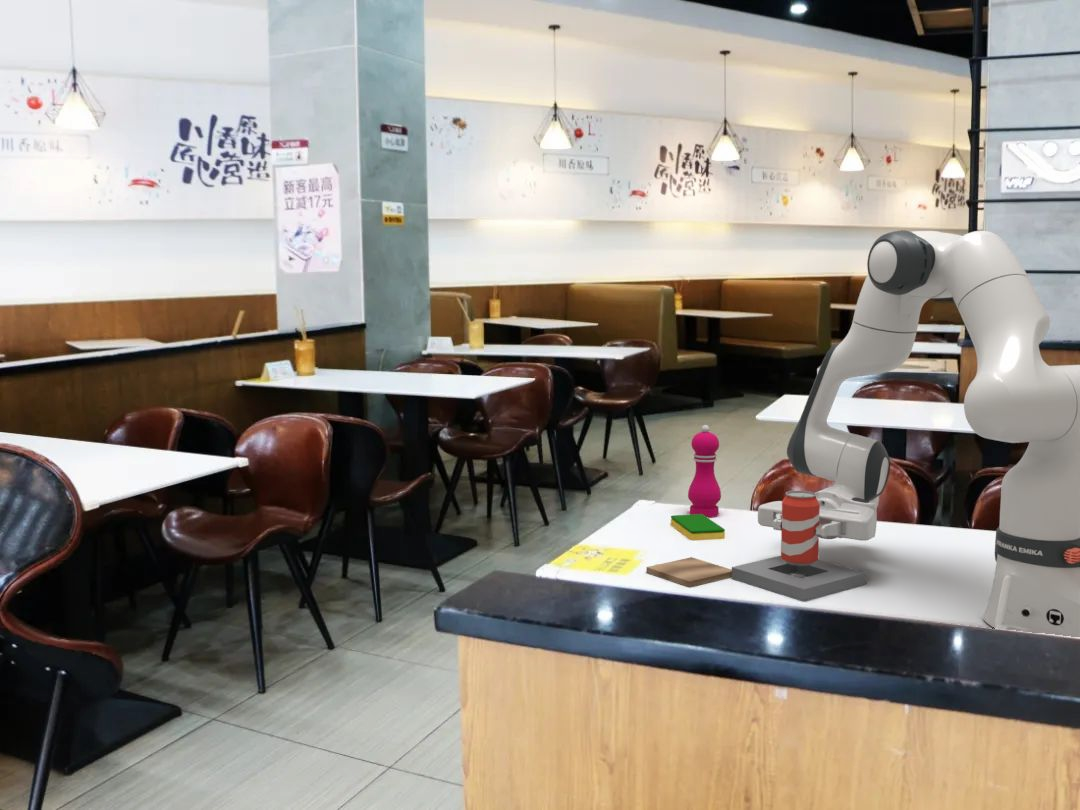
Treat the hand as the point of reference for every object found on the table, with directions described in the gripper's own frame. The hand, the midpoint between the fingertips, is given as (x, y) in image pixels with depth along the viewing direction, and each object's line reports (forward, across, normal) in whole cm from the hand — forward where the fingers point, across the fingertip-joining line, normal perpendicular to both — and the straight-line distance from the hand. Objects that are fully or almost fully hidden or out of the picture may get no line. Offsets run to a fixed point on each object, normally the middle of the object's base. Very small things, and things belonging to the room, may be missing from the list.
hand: (798, 528), depth 176 cm
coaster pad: (+6, -17, +9) cm, 20 cm away
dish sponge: (-22, -31, +10) cm, 40 cm away
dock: (-1, 0, +10) cm, 10 cm away
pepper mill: (-36, -37, +10) cm, 53 cm away
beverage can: (-1, 0, +6) cm, 6 cm away
